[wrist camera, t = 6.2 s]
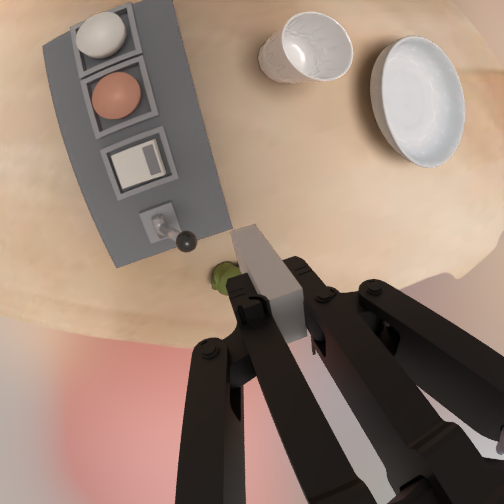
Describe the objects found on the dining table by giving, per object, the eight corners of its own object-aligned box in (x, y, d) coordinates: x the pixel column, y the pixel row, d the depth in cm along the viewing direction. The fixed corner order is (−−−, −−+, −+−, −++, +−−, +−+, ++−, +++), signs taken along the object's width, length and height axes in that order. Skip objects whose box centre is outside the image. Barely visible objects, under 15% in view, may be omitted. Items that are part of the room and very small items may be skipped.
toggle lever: (162, 212, 31) (196, 227, 24) (168, 230, 32) (204, 250, 26) (147, 219, 30) (177, 237, 23) (154, 238, 31) (186, 260, 25)
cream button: (122, 13, 18) (118, 5, 16) (130, 48, 20) (126, 42, 18) (80, 30, 17) (73, 24, 15) (87, 66, 20) (79, 62, 18)
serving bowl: (438, 156, 42) (465, 166, 36) (355, 161, 38) (383, 172, 32) (434, 53, 31) (462, 53, 25) (344, 30, 28) (372, 20, 22)
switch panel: (170, 2, 22) (170, -13, 18) (228, 220, 37) (235, 233, 33) (51, 50, 20) (36, 43, 16) (120, 257, 35) (114, 274, 32)
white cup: (253, 86, 30) (282, 76, 21) (252, 31, 26) (280, 5, 18) (311, 89, 32) (354, 86, 23) (310, 38, 28) (351, 20, 19)
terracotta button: (136, 69, 23) (132, 64, 20) (147, 109, 25) (144, 108, 23) (94, 86, 22) (87, 84, 20) (105, 125, 25) (98, 126, 22)
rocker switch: (155, 138, 26) (152, 139, 25) (166, 172, 28) (164, 175, 27) (114, 154, 26) (110, 156, 26) (125, 186, 28) (122, 189, 28)
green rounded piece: (278, 310, 40) (208, 305, 38) (272, 289, 44) (210, 284, 43) (287, 278, 37) (212, 271, 36) (280, 259, 42) (213, 252, 40)
